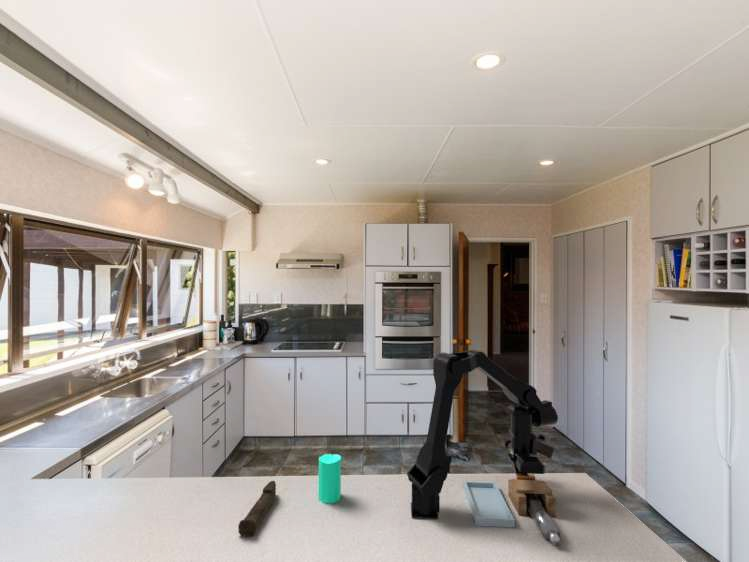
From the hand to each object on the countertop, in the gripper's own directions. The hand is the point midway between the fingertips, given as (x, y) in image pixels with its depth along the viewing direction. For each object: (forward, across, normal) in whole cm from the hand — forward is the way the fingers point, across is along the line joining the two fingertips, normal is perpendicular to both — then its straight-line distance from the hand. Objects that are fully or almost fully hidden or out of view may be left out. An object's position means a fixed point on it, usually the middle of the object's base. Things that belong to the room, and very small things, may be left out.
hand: (521, 484), depth 109 cm
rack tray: (+2, -8, +11) cm, 14 cm away
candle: (+2, -7, +53) cm, 53 cm away
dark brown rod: (+2, -16, +69) cm, 71 cm away
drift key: (+2, -7, 0) cm, 7 cm away
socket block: (+2, -7, 0) cm, 8 cm away
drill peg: (+2, -18, 0) cm, 18 cm away
